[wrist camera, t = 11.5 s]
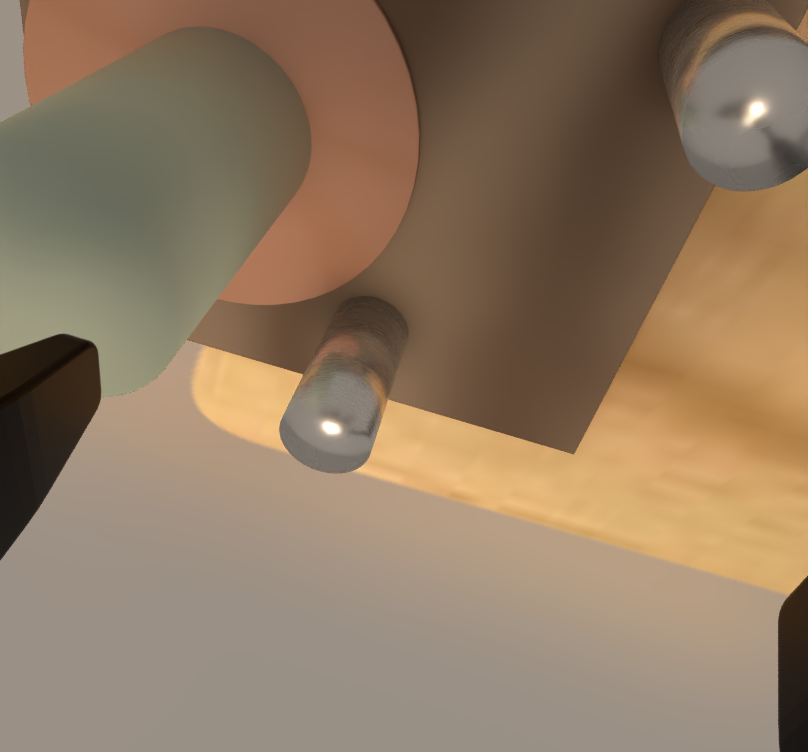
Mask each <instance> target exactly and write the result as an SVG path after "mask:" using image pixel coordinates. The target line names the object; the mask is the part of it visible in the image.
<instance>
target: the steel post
mask: <svg viewBox="0 0 808 752" xmlns="http://www.w3.org/2000/svg"><path fill="white" fill-rule="evenodd" d="M658 59H659V66H660V70H661V74H662V77H663V80H664V84H665V87H666V91H667V94H668V97H669V101H670V104H671V107H672V111H673V114H674V118H675V121H676V124H677V128H678V131H679V134H680V138H681V141H682V145H683V148H684V151H685V154H686V157H687V159H688V160H689V162H690V164H691V166H692V167H693V168H694V170H695V171H696V172H697V173H698V174H699V175H700V176H701V177H703V178H704V179H705V180H707V181H708V182H710V183H712V184H714V185H716V186H719V187H721V188H724V189H729V190H734V191H755V190H762V189H766V188H770V187H773V186H776V185H779V184H782V183H784V182H786V181H788V180H790V179H792V178H793V177H795V176H797V175H798V174H800V173H801V172H803V171H804V170H805V169H807V168H808V43H807V42H806V41H805V40H804V39H803V38H802V37H801V36H800V35H799V34H798V33H797V32H796V31H795V30H794V29H793V28H792V27H791V25H790V24H789V23H788V22H787V21H786V20H785V19H784V18H783V17H782V16H781V15H780V14H779V13H778V12H777V11H776V10H775V9H774V8H773V7H772V6H771V5H770V4H769V3H768V2H767V1H766V0H687V1H685V2H684V3H683V4H682V5H681V6H680V7H679V8H678V9H677V10H676V11H675V13H674V14H673V15H672V16H671V18H670V19H669V21H668V23H667V24H666V26H665V29H664V31H663V33H662V36H661V39H660V44H659V52H658ZM408 335H409V332H408V326H407V323H406V321H405V319H404V317H403V316H402V314H401V313H400V312H399V311H398V310H397V309H396V308H395V307H394V306H393V305H391V304H390V303H388V302H386V301H384V300H382V299H379V298H376V297H371V296H358V297H353V298H350V299H348V300H346V301H344V302H343V303H342V304H340V306H339V307H338V308H337V309H336V311H335V313H334V315H333V317H332V319H331V321H330V323H329V325H328V327H327V329H326V331H325V333H324V335H323V337H322V339H321V341H320V343H319V345H318V347H317V349H316V351H315V353H314V355H313V357H312V359H311V361H310V363H309V365H308V367H307V369H306V371H305V373H304V375H303V377H302V379H301V381H300V383H299V385H298V387H297V389H296V391H295V393H294V395H293V397H292V399H291V401H290V403H289V405H288V407H287V409H286V411H285V413H284V415H283V417H282V420H281V422H280V428H279V431H280V437H281V440H282V442H283V444H284V446H285V448H286V449H287V450H288V452H289V453H290V454H291V455H292V456H293V457H294V458H296V459H297V460H298V461H300V462H301V463H303V464H304V465H306V466H308V467H310V468H312V469H315V470H318V471H322V472H327V473H346V472H350V471H353V470H355V469H357V468H359V467H361V466H362V465H363V464H364V463H365V462H366V461H367V459H368V458H369V456H370V453H371V450H372V447H373V444H374V441H375V438H376V435H377V432H378V429H379V426H380V423H381V420H382V417H383V414H384V411H385V408H386V405H387V402H388V399H389V396H390V393H391V390H392V387H393V384H394V381H395V378H396V375H397V372H398V369H399V366H400V363H401V360H402V357H403V354H404V351H405V348H406V344H407V341H408Z"/></svg>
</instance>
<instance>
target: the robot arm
mask: <svg viewBox="0 0 808 752" xmlns="http://www.w3.org/2000/svg"><path fill="white" fill-rule="evenodd" d="M100 400H101V378H100V366H99V355H98V349H97V347H96V345H95V344H94V343H93V342H91V341H89V340H86V339H83V338H79V337H76V336H73V335H69V334H57V335H54V336H51V337H48V338H45V339H42V340H40V341H37V342H34V343H31V344H28V345H25V346H22V347H20V348H17V349H14V350H11V351H8V352H5V353H3V354H0V560H1V559H2V558H3V556H4V555H5V554H6V552H7V551H8V550H9V548H10V547H11V546H12V544H13V543H14V542H15V540H16V539H17V537H18V536H19V535H20V533H21V532H22V531H23V530H24V528H25V526H27V524H28V523H29V521H30V520H31V519H32V517H33V516H34V514H35V513H36V511H37V510H38V508H39V507H40V505H41V504H42V502H43V501H44V499H45V497H46V496H47V494H48V493H49V491H50V489H51V487H52V486H53V484H54V482H55V481H56V479H57V477H58V475H59V474H60V472H61V470H62V469H63V467H64V465H65V464H66V462H67V460H68V458H69V457H70V455H71V453H72V452H73V450H74V448H75V447H76V445H77V443H78V441H79V440H80V438H81V436H82V435H83V433H84V431H85V429H86V428H87V426H88V424H89V423H90V421H91V419H92V417H93V416H94V414H95V412H96V410H97V409H98V406H99V403H100ZM778 725H779V727H778V728H779V748H780V752H808V576H807V577H806V578H805V579H804V580H803V581H802V582H801V584H800V585H799V586H798V587H797V588H796V589H795V590H794V591H793V592H792V593H791V594H790V596H789V597H788V598H787V599H786V600H785V601H784V603H783V605H782V607H781V610H780V613H779V620H778Z"/></svg>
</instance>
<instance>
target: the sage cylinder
mask: <svg viewBox="0 0 808 752" xmlns="http://www.w3.org/2000/svg"><path fill="white" fill-rule="evenodd" d="M310 157H311V132H310V125H309V121H308V117H307V113H306V110H305V108H304V105H303V102H302V100H301V98H300V96H299V94H298V92H297V90H296V88H295V86H294V85H293V83H292V82H291V80H290V79H289V77H288V76H287V74H286V73H285V72H284V71H283V70H282V69H281V67H280V66H279V65H278V64H277V63H276V62H275V61H274V60H273V59H272V58H271V57H270V56H269V55H268V54H267V53H265V52H264V51H263V50H261V49H260V48H259V47H257V46H256V45H255V44H253V43H251V42H250V41H248V40H246V39H244V38H243V37H240V36H238V35H236V34H233V33H231V32H228V31H224V30H221V29H217V28H210V27H187V28H181V29H177V30H174V31H172V32H169V33H167V34H165V35H163V36H161V37H159V38H157V39H155V40H154V41H152V42H150V43H148V44H146V45H144V46H142V47H140V48H139V49H137V50H135V51H133V52H131V53H129V54H127V55H126V56H124V57H122V58H120V59H118V60H116V61H114V62H112V63H111V64H109V65H107V66H105V67H103V68H101V69H99V70H98V71H96V72H94V73H92V74H90V75H88V76H86V77H84V78H83V79H81V80H79V81H77V82H75V83H73V84H71V85H70V86H68V87H66V88H64V89H62V90H60V91H58V92H56V93H55V94H53V95H51V96H49V97H47V98H45V99H43V100H42V101H40V102H38V103H36V104H34V105H32V106H30V107H29V108H27V109H25V110H23V111H21V112H19V113H17V114H15V115H14V116H12V117H10V118H8V119H6V120H4V121H3V122H1V123H0V354H3V353H5V352H8V351H11V350H14V349H17V348H20V347H22V346H25V345H28V344H31V343H34V342H37V341H40V340H42V339H45V338H48V337H51V336H54V335H57V334H69V335H73V336H76V337H79V338H83V339H86V340H89V341H91V342H93V343H94V344H95V345H96V347H97V349H98V355H99V366H100V378H101V397H113V396H119V395H124V394H127V393H131V392H134V391H136V390H138V389H140V388H142V387H144V386H146V385H148V384H149V383H151V382H152V381H153V380H155V379H156V378H157V377H158V376H159V375H160V374H161V373H162V372H163V370H164V369H165V368H166V367H167V365H168V364H169V363H170V361H171V360H172V359H173V357H174V356H175V355H176V353H177V352H178V351H179V349H180V348H181V347H182V345H183V344H184V343H185V341H186V340H187V339H188V337H189V336H190V335H191V333H192V332H193V331H194V329H195V328H196V327H197V325H198V324H199V323H200V321H201V320H202V319H203V317H204V316H205V315H206V313H207V312H208V311H209V309H210V308H211V307H212V305H213V304H214V303H215V301H216V300H217V299H218V297H219V296H220V294H221V293H222V292H223V290H224V289H225V288H226V286H227V285H228V284H229V282H230V281H231V280H232V278H233V277H234V276H235V274H236V273H237V272H238V270H239V269H240V268H241V266H242V265H243V264H244V262H245V261H246V260H247V258H248V257H249V256H250V254H251V253H252V252H253V250H254V249H255V248H256V246H257V245H258V244H259V242H260V241H261V240H262V238H263V237H264V236H265V234H266V233H267V232H268V230H269V229H270V228H271V226H272V225H273V224H274V222H275V221H276V220H277V218H278V217H279V216H280V214H281V213H282V211H283V210H284V209H285V207H286V206H287V205H288V203H289V202H290V201H291V199H292V198H293V197H294V195H295V194H296V193H297V191H298V190H299V188H300V187H301V185H302V183H303V181H304V179H305V176H306V174H307V171H308V167H309V164H310Z"/></svg>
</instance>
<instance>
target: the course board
mask: <svg viewBox="0 0 808 752" xmlns="http://www.w3.org/2000/svg"><path fill="white" fill-rule="evenodd" d="M685 1H687V0H20V6H21V15H22V24H23V32H24V44H23V52H24V70H25V79H26V85H27V90H28V96H29V102H30V105H31V106H32V105H34V104H36V103H38V102H40V101H42V100H43V99H45V98H47V97H49V96H51V95H53V94H55V93H56V92H58V91H60V90H62V89H64V88H66V87H68V86H70V85H71V84H73V83H75V82H77V81H79V80H81V79H83V78H84V77H86V76H88V75H90V74H92V73H94V72H96V71H98V70H99V69H101V68H103V67H105V66H107V65H109V64H111V63H112V62H114V61H116V60H118V59H120V58H122V57H124V56H126V55H127V54H129V53H131V52H133V51H135V50H137V49H139V48H140V47H142V46H144V45H146V44H148V43H150V42H152V41H154V40H155V39H157V38H159V37H161V36H163V35H165V34H167V33H169V32H172V31H174V30H177V29H181V28H187V27H210V28H217V29H221V30H224V31H228V32H231V33H233V34H236V35H238V36H240V37H243V38H244V39H246V40H248V41H250V42H251V43H253V44H255V45H256V46H257V47H259V48H260V49H261V50H263V51H264V52H265V53H267V54H268V55H269V56H270V57H271V58H272V59H273V60H274V61H275V62H276V63H277V64H278V65H279V66H280V67H281V69H282V70H283V71H284V72H285V73H286V74H287V76H288V77H289V79H290V80H291V82H292V83H293V85H294V86H295V88H296V90H297V92H298V94H299V96H300V98H301V100H302V102H303V105H304V108H305V110H306V113H307V117H308V121H309V125H310V132H311V157H310V164H309V167H308V171H307V174H306V176H305V179H304V181H303V183H302V185H301V187H300V188H299V190H298V191H297V193H296V194H295V195H294V197H293V198H292V199H291V201H290V202H289V203H288V205H287V206H286V207H285V209H284V210H283V211H282V213H281V214H280V216H279V217H278V218H277V220H276V221H275V222H274V224H273V225H272V226H271V228H270V229H269V230H268V232H267V233H266V234H265V236H264V237H263V238H262V240H261V241H260V242H259V244H258V245H257V246H256V248H255V249H254V250H253V252H252V253H251V254H250V256H249V257H248V258H247V260H246V261H245V262H244V264H243V265H242V266H241V268H240V269H239V270H238V272H237V273H236V274H235V276H234V277H233V278H232V280H231V281H230V282H229V284H228V285H227V286H226V288H225V289H224V290H223V292H222V293H221V294H220V296H219V297H218V299H217V300H216V301H215V303H214V304H213V305H212V307H211V308H210V309H209V311H208V312H207V313H206V315H205V316H204V317H203V319H202V320H201V321H200V323H199V324H198V325H197V327H196V328H195V329H194V331H193V332H192V333H191V335H190V336H189V337H188V339H187V340H189V341H192V342H196V343H199V344H203V345H206V346H209V347H213V348H216V349H219V350H223V351H226V352H230V353H233V354H236V355H240V356H243V357H247V358H250V359H253V360H257V361H260V362H263V363H267V364H270V365H274V366H277V367H280V368H284V369H287V370H291V371H294V372H297V373H301V374H304V373H305V371H306V369H307V367H308V365H309V363H310V361H311V359H312V357H313V355H314V353H315V351H316V349H317V347H318V345H319V343H320V341H321V339H322V337H323V335H324V333H325V331H326V329H327V327H328V325H329V323H330V321H331V319H332V317H333V315H334V313H335V311H336V309H337V308H338V307H339V306H340V304H342V303H343V302H344V301H346V300H348V299H350V298H353V297H358V296H371V297H376V298H379V299H382V300H384V301H386V302H388V303H390V304H391V305H393V306H394V307H395V308H396V309H397V310H398V311H399V312H400V313H401V314H402V316H403V317H404V319H405V321H406V323H407V326H408V332H409V335H408V341H407V344H406V348H405V351H404V354H403V357H402V360H401V363H400V366H399V369H398V372H397V375H396V378H395V381H394V384H393V387H392V390H391V393H390V396H389V400H392V401H395V402H399V403H402V404H406V405H409V406H412V407H416V408H419V409H422V410H426V411H429V412H433V413H436V414H439V415H443V416H446V417H449V418H453V419H456V420H460V421H463V422H466V423H470V424H473V425H477V426H480V427H483V428H487V429H490V430H493V431H497V432H500V433H504V434H507V435H510V436H514V437H517V438H521V439H524V440H527V441H531V442H534V443H537V444H541V445H544V446H548V447H551V448H554V449H558V450H561V451H564V452H568V453H571V454H574V453H575V451H576V449H577V448H578V446H579V444H580V442H581V440H582V438H583V436H584V434H585V432H586V430H587V428H588V427H589V425H590V423H591V421H592V419H593V417H594V415H595V413H596V411H597V409H598V407H599V406H600V404H601V402H602V400H603V398H604V396H605V394H606V392H607V390H608V388H609V387H610V385H611V383H612V381H613V379H614V377H615V375H616V373H617V371H618V369H619V367H620V366H621V364H622V362H623V360H624V358H625V356H626V354H627V352H628V350H629V348H630V346H631V345H632V343H633V341H634V339H635V337H636V335H637V333H638V331H639V329H640V327H641V325H642V324H643V322H644V320H645V318H646V316H647V314H648V312H649V310H650V308H651V306H652V304H653V303H654V301H655V299H656V297H657V295H658V293H659V291H660V289H661V287H662V285H663V283H664V282H665V280H666V278H667V276H668V274H669V272H670V270H671V268H672V266H673V264H674V263H675V261H676V259H677V257H678V255H679V253H680V251H681V249H682V247H683V245H684V243H685V242H686V240H687V238H688V236H689V234H690V232H691V230H692V228H693V226H694V224H695V222H696V221H697V219H698V217H699V215H700V213H701V211H702V209H703V207H704V205H705V203H706V201H707V200H708V198H709V196H710V194H711V192H712V190H713V188H714V186H715V185H714V184H712V183H710V182H708V181H707V180H705V179H704V178H703V177H701V176H700V175H699V174H698V173H697V172H696V171H695V170H694V168H693V167H692V166H691V164H690V162H689V160H688V159H687V157H686V154H685V151H684V148H683V145H682V141H681V138H680V134H679V131H678V128H677V124H676V121H675V118H674V114H673V111H672V107H671V104H670V101H669V97H668V94H667V91H666V87H665V84H664V80H663V77H662V74H661V70H660V66H659V59H658V52H659V44H660V39H661V36H662V33H663V31H664V29H665V26H666V24H667V23H668V21H669V19H670V18H671V16H672V15H673V14H674V13H675V11H676V10H677V9H678V8H679V7H680V6H681V5H682V4H683V3H684V2H685ZM766 1H767V2H768V3H769V4H770V5H771V6H772V7H773V8H774V9H775V10H776V11H777V12H778V13H779V14H780V15H781V16H782V17H783V18H784V19H785V20H786V21H787V22H788V23H789V24H790V25H791V27H792V28H793V29H794V30H795V31H796V30H797V28H798V26H799V24H800V22H801V20H802V18H803V16H804V14H805V13H806V11H807V9H808V0H766Z"/></svg>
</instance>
